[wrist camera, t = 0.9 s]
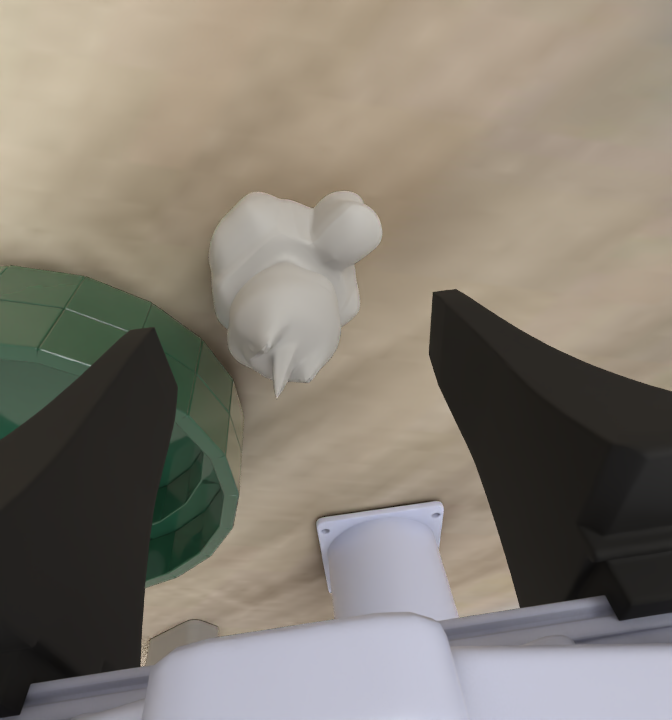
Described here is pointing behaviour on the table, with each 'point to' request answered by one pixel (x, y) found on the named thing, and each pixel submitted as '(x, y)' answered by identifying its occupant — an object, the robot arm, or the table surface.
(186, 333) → the bowl
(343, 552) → the robot arm
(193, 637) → the power adapter
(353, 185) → the table surface
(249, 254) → the grey lumpy piece
